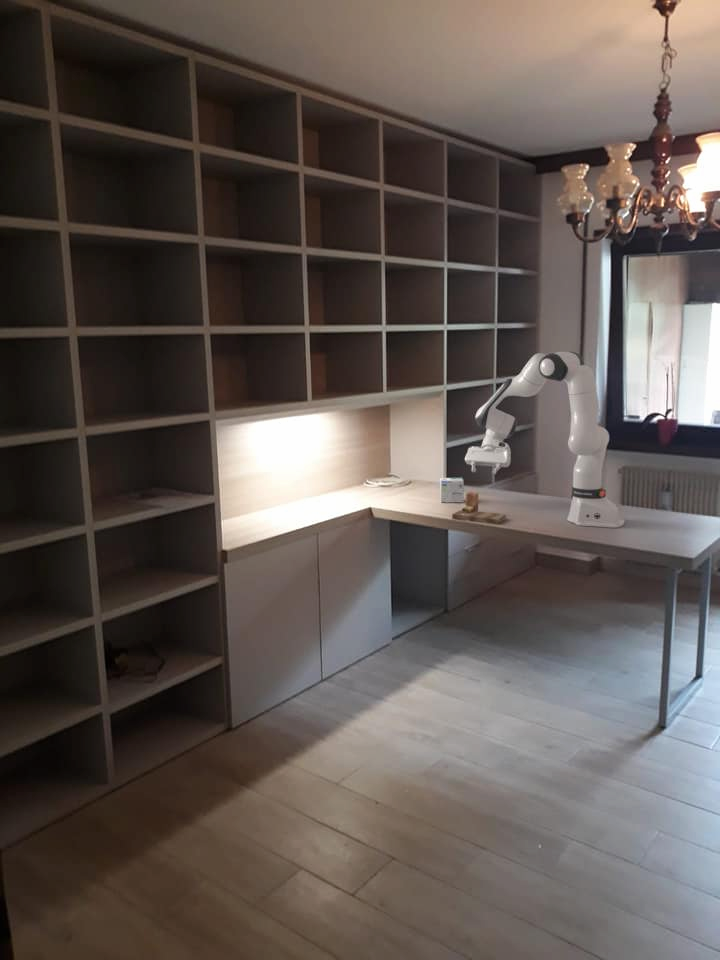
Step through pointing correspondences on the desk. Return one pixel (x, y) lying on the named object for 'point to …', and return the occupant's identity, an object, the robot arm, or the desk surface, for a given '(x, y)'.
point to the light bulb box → (451, 490)
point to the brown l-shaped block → (471, 502)
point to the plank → (479, 516)
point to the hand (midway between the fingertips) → (483, 472)
